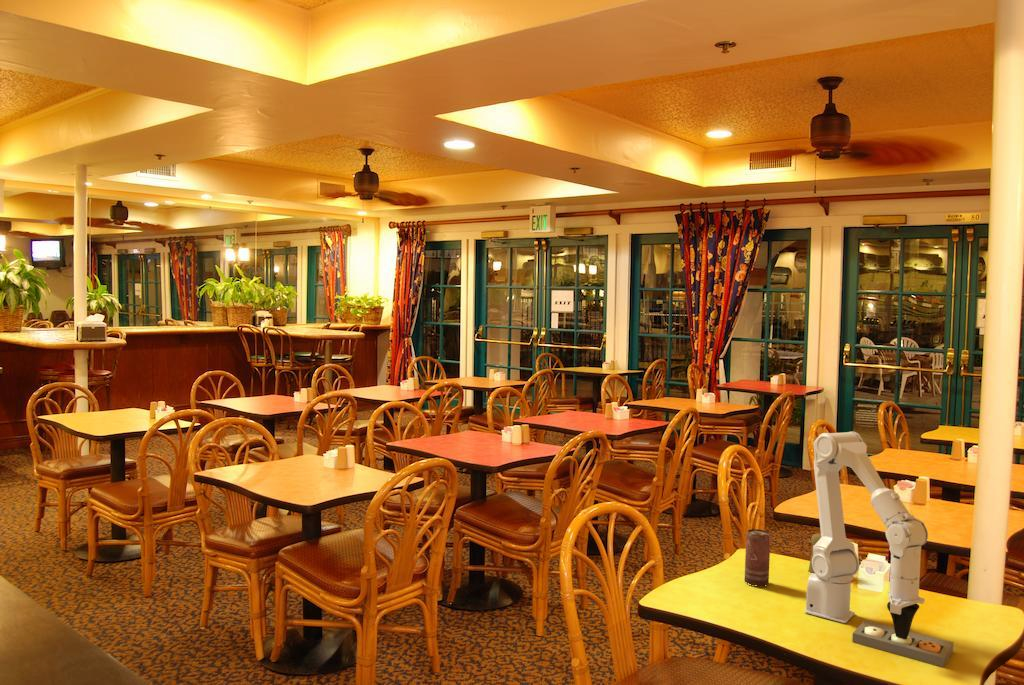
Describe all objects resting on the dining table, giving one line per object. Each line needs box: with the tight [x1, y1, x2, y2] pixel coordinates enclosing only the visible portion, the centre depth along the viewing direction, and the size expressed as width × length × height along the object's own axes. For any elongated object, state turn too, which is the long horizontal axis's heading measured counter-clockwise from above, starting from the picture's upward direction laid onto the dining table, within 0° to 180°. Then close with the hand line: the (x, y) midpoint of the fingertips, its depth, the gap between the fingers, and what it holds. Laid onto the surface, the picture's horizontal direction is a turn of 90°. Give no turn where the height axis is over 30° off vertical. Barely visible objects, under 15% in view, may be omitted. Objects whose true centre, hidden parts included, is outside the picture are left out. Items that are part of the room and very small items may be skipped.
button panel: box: [851, 619, 955, 668], centre depth 170 cm, size 18×10×2 cm, turn 51°
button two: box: [891, 634, 912, 646], centre depth 169 cm, size 4×4×2 cm
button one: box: [864, 626, 884, 638], centre depth 172 cm, size 4×4×2 cm
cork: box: [807, 533, 821, 573], centre depth 216 cm, size 6×6×11 cm
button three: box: [919, 641, 940, 653], centre depth 165 cm, size 4×4×2 cm
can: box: [744, 528, 771, 587], centre depth 206 cm, size 6×6×14 cm
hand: (901, 636), depth 169 cm, fingers closed, pressing on button two
